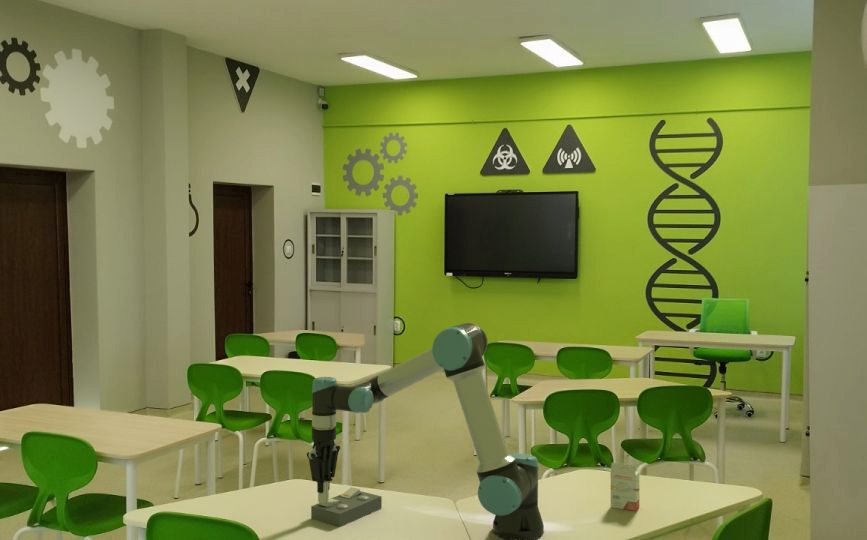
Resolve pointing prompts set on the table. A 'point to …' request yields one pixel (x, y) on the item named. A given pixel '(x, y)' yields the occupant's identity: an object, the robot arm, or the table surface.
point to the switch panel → (347, 509)
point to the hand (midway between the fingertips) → (323, 501)
